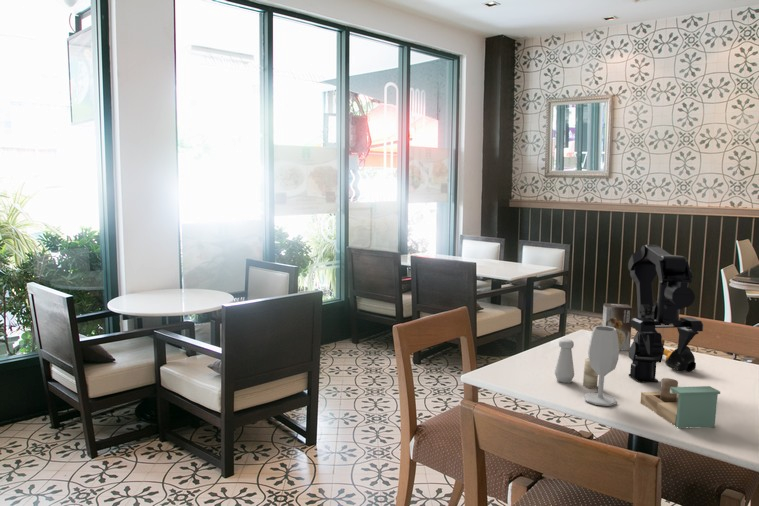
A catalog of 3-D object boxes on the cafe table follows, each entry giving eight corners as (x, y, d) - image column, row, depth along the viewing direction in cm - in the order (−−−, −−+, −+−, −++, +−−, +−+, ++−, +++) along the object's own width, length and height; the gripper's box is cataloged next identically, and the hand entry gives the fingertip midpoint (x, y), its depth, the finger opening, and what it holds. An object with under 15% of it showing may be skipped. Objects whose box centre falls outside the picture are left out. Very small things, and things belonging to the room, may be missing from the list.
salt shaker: (574, 384, 183) (577, 343, 181) (555, 383, 184) (557, 341, 182) (572, 378, 189) (575, 338, 187) (553, 376, 190) (556, 336, 188)
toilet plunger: (680, 362, 192) (641, 331, 207) (680, 387, 198) (642, 355, 213) (704, 351, 193) (664, 321, 208) (703, 376, 199) (664, 344, 214)
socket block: (673, 401, 171) (674, 391, 170) (711, 424, 155) (712, 413, 155) (640, 402, 170) (641, 392, 169) (674, 426, 154) (675, 414, 153)
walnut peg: (678, 411, 164) (681, 383, 163) (664, 411, 163) (667, 383, 162) (669, 405, 168) (672, 378, 167) (656, 406, 167) (658, 378, 166)
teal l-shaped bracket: (706, 420, 158) (709, 386, 156) (716, 427, 154) (720, 391, 152) (667, 422, 156) (670, 387, 155) (676, 428, 152) (679, 392, 151)
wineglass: (612, 409, 164) (618, 334, 161) (580, 402, 169) (585, 329, 166) (619, 399, 171) (624, 327, 169) (587, 393, 176) (592, 322, 173)
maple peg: (593, 383, 184) (594, 358, 183) (599, 388, 181) (601, 362, 180) (580, 383, 184) (582, 358, 183) (586, 388, 180) (588, 362, 179)
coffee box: (626, 346, 227) (629, 304, 225) (630, 351, 220) (633, 307, 218) (600, 344, 228) (603, 302, 226) (603, 349, 222) (606, 306, 220)
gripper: (682, 294, 179) (677, 345, 181) (622, 294, 177) (618, 346, 179) (706, 302, 168) (701, 356, 170) (644, 302, 166) (639, 357, 168)
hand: (664, 354), depth 172 cm, fingers open, 9 cm apart
